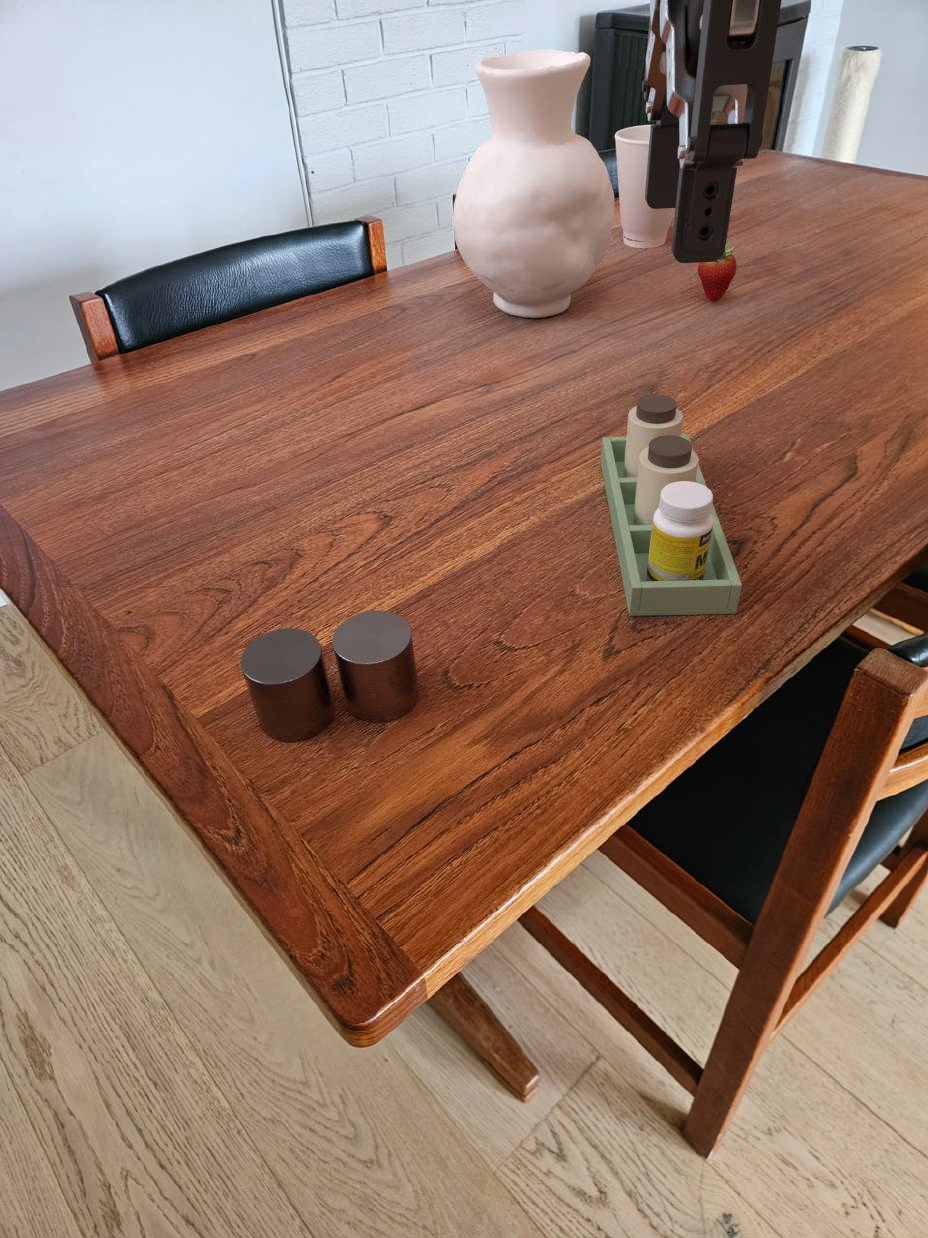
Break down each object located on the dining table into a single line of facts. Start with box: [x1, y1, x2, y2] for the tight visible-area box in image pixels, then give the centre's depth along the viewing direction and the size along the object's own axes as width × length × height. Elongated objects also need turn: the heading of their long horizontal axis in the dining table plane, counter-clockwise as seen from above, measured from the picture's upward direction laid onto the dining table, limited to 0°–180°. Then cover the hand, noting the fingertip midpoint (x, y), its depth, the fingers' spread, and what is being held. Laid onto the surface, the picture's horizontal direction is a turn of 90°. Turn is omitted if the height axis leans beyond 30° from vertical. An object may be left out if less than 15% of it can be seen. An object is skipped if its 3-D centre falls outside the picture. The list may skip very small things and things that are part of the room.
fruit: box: [697, 240, 738, 303], centre depth 114 cm, size 5×5×8 cm
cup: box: [614, 124, 675, 249], centre depth 132 cm, size 12×12×16 cm
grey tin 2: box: [331, 609, 420, 723], centre depth 60 cm, size 6×6×6 cm
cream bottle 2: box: [633, 435, 700, 525], centre depth 73 cm, size 5×5×8 cm
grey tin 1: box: [239, 627, 336, 743], centre depth 59 cm, size 6×6×6 cm
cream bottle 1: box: [623, 393, 684, 478], centre depth 79 cm, size 5×5×8 cm
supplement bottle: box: [647, 481, 714, 581], centre depth 67 cm, size 5×5×8 cm
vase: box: [452, 48, 615, 319], centre depth 109 cm, size 19×21×30 cm
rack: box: [599, 433, 743, 617], centre depth 75 cm, size 9×24×3 cm, turn 178°
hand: (680, 230), depth 40 cm, fingers open, 8 cm apart
